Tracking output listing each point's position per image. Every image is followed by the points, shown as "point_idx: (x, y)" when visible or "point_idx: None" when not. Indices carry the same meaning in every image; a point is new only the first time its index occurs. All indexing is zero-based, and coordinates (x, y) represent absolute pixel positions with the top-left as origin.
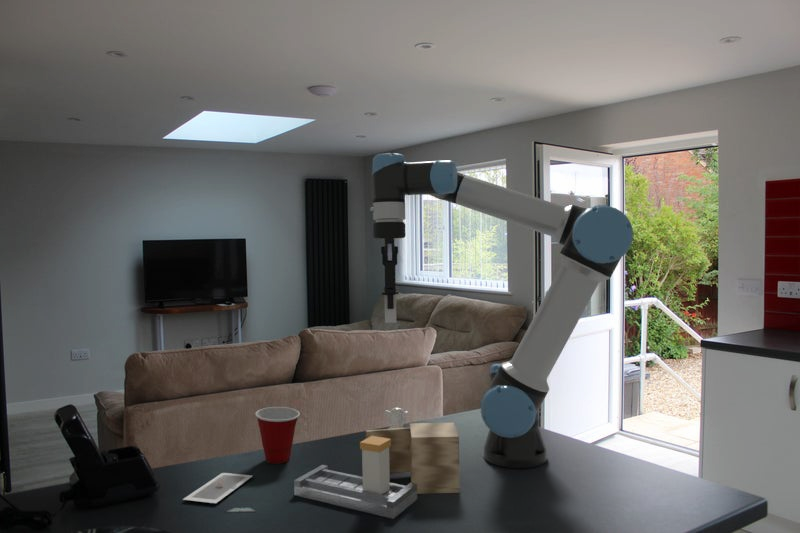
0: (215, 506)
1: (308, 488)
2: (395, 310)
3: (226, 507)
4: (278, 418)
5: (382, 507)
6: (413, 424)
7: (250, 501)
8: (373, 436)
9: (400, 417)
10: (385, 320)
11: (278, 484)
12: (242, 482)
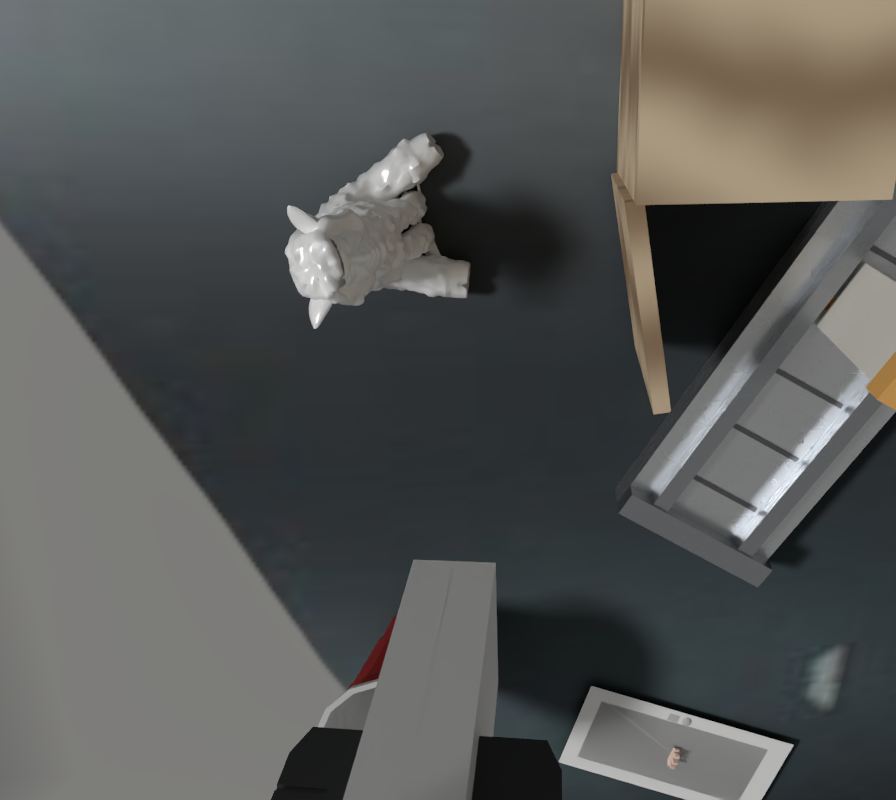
0: (790, 739)
1: (784, 533)
2: (479, 686)
3: (803, 714)
4: (343, 727)
5: None
6: (658, 185)
7: (771, 664)
8: (891, 392)
9: (358, 243)
10: (496, 698)
11: (648, 609)
12: (644, 705)
